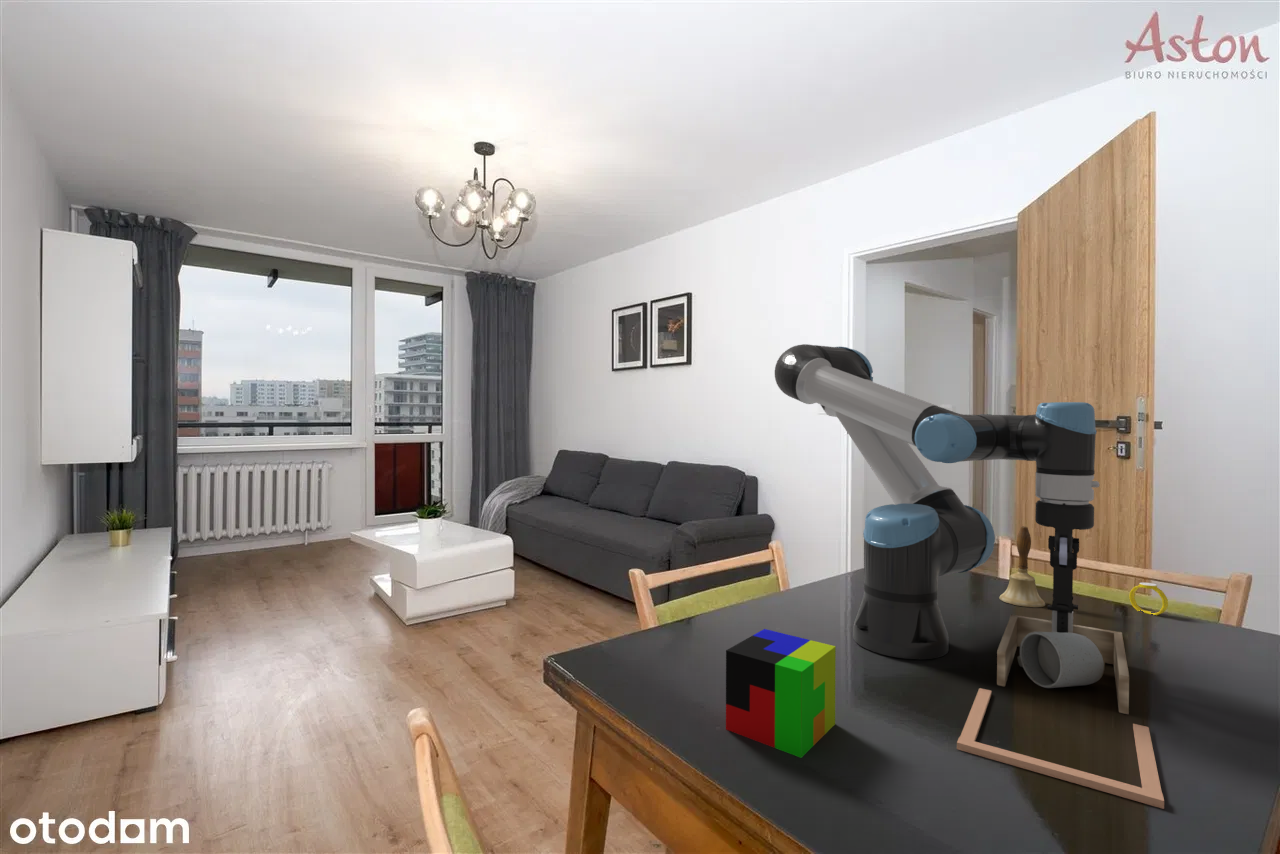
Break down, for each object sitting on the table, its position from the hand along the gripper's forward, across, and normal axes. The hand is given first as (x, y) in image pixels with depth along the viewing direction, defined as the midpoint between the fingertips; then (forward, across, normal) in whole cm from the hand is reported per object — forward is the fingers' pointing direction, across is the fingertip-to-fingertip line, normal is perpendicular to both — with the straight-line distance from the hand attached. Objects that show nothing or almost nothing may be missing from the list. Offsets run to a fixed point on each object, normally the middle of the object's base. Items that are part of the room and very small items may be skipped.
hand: (1062, 651), depth 96 cm
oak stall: (+2, -4, 0) cm, 4 cm away
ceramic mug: (+3, -7, +1) cm, 7 cm away
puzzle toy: (+3, -43, +28) cm, 52 cm away
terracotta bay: (+2, -27, 0) cm, 27 cm away
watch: (+3, +42, -14) cm, 44 cm away
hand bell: (+3, +36, +8) cm, 37 cm away
